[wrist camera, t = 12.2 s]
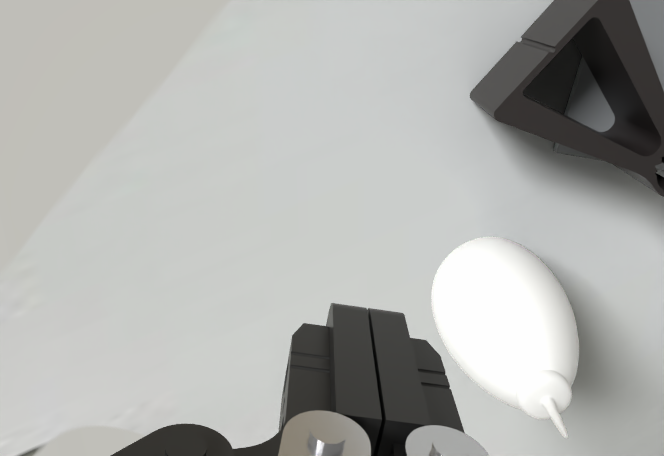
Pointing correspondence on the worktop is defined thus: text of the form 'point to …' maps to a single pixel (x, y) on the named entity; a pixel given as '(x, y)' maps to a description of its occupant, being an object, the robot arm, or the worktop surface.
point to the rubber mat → (586, 97)
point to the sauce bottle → (508, 325)
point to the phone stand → (610, 74)
